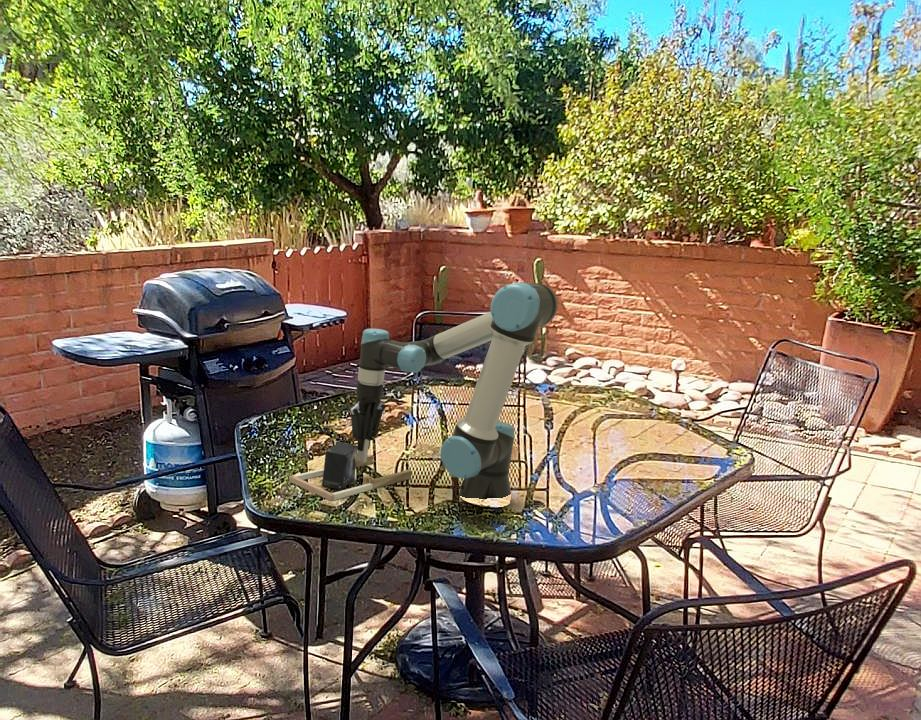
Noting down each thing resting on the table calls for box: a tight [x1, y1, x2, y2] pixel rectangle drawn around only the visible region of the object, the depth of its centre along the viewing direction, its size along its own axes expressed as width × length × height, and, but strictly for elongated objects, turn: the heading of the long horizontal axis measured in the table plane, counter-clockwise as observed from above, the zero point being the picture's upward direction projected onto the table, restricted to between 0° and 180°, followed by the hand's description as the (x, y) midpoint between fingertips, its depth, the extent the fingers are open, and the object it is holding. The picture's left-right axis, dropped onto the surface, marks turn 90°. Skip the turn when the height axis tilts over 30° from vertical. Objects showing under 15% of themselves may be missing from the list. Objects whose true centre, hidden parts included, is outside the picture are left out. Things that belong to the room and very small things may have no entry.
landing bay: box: [288, 467, 374, 502], centre depth 209 cm, size 17×16×2 cm
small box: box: [321, 441, 358, 491], centre depth 211 cm, size 11×6×10 cm, turn 168°
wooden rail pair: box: [356, 454, 413, 490], centre depth 222 cm, size 17×16×2 cm
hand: (361, 460), depth 218 cm, fingers closed
